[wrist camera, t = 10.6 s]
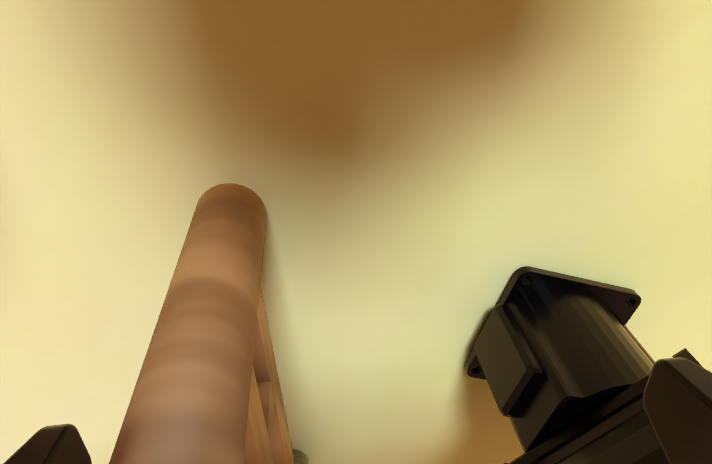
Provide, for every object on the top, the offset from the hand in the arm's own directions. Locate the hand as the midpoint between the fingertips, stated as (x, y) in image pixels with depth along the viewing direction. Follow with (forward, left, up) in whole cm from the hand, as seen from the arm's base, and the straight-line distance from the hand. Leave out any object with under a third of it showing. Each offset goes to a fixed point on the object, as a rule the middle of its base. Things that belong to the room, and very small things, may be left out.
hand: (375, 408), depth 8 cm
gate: (0, +10, -12) cm, 16 cm away
